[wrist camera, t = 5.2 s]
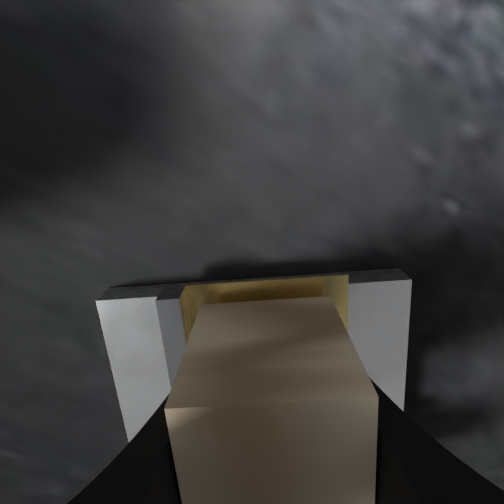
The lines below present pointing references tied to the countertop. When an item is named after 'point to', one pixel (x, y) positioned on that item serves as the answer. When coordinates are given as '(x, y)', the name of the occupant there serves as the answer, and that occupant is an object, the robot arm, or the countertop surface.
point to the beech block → (273, 407)
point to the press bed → (242, 290)
